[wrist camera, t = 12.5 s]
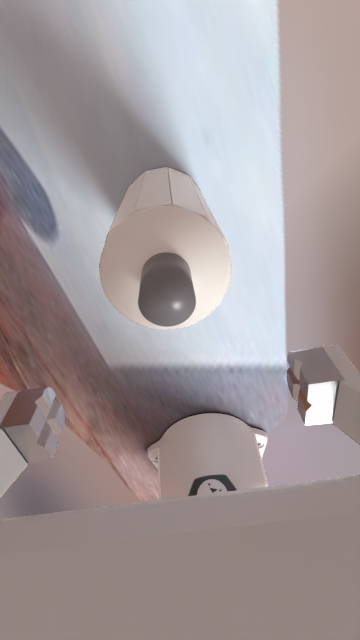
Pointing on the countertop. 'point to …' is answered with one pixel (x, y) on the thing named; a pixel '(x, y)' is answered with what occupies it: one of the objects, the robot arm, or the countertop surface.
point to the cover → (165, 253)
